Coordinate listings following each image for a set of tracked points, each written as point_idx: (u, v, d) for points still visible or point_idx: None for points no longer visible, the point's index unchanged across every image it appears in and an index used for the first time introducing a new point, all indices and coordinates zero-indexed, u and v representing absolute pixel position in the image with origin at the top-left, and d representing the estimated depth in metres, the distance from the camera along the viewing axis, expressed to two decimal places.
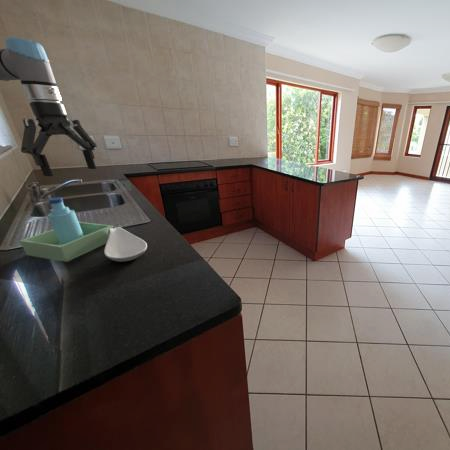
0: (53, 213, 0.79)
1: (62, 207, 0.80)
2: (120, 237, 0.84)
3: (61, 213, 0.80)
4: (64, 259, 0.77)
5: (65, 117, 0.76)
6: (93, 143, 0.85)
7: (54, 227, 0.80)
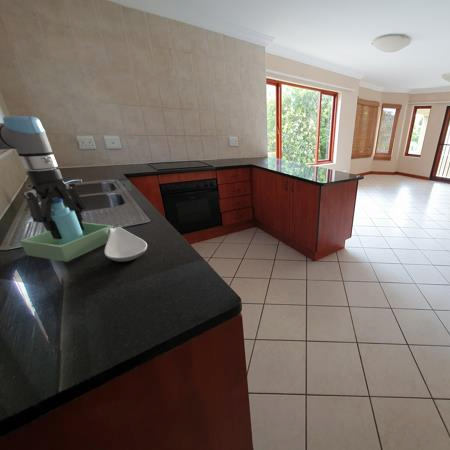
0: (53, 213, 0.79)
1: (62, 207, 0.80)
2: (120, 237, 0.84)
3: (61, 213, 0.80)
4: (64, 259, 0.77)
5: (61, 180, 0.80)
6: (82, 205, 0.87)
7: None
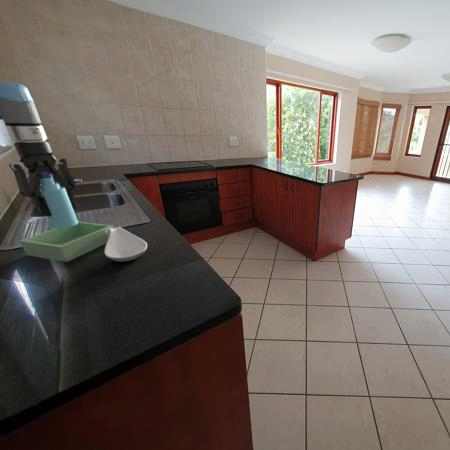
0: (42, 188, 0.76)
1: (52, 183, 0.77)
2: (120, 237, 0.84)
3: (51, 189, 0.77)
4: (64, 259, 0.77)
5: (51, 154, 0.76)
6: (73, 182, 0.83)
7: None
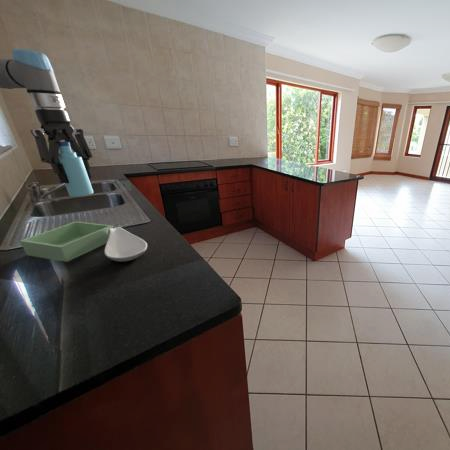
0: (61, 156, 0.79)
1: (69, 151, 0.80)
2: (120, 237, 0.84)
3: (68, 156, 0.80)
4: (64, 259, 0.77)
5: (68, 123, 0.80)
6: (89, 153, 0.87)
7: None
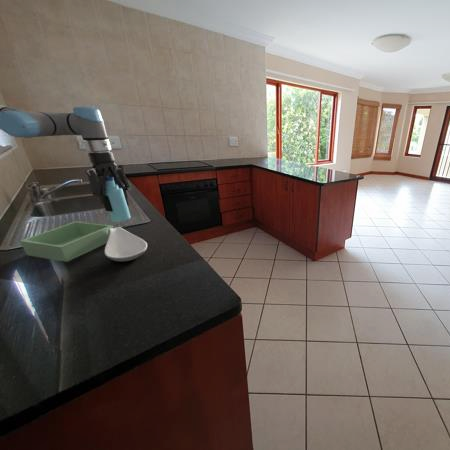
0: (107, 189, 0.94)
1: (113, 184, 0.96)
2: (120, 237, 0.84)
3: (113, 189, 0.95)
4: (64, 259, 0.77)
5: (112, 161, 0.95)
6: (127, 184, 1.02)
7: None
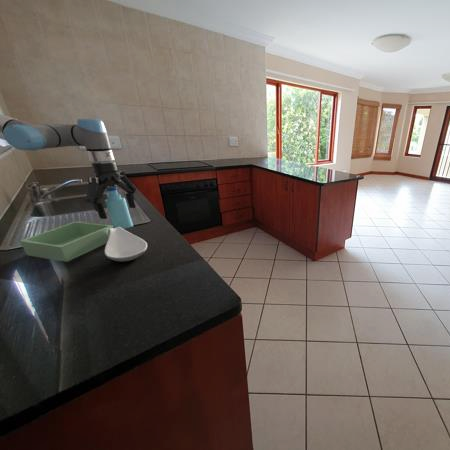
0: (110, 199, 0.96)
1: (116, 194, 0.97)
2: (120, 237, 0.84)
3: (116, 199, 0.97)
4: (64, 259, 0.77)
5: (115, 171, 0.97)
6: (134, 187, 1.05)
7: (110, 210, 0.97)
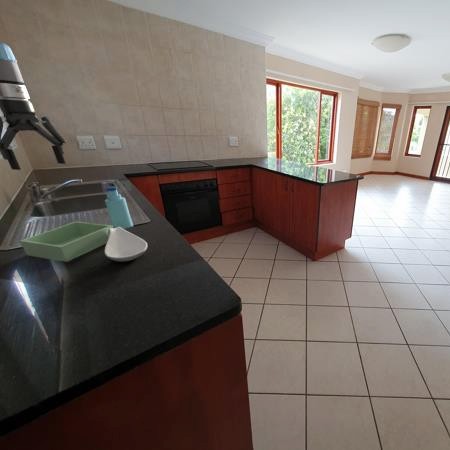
0: (110, 199, 0.96)
1: (116, 194, 0.97)
2: (120, 237, 0.84)
3: (116, 199, 0.97)
4: (64, 259, 0.77)
5: (33, 114, 0.81)
6: (62, 139, 0.89)
7: (110, 210, 0.97)
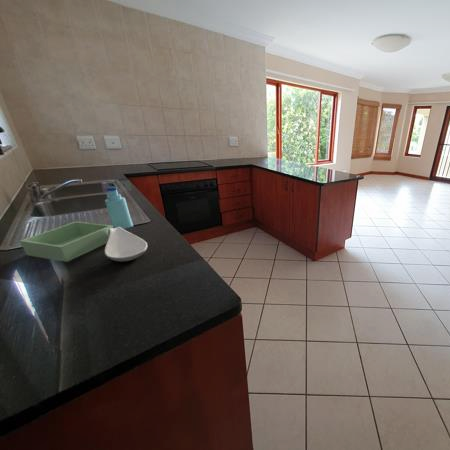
0: (110, 199, 0.96)
1: (116, 194, 0.97)
2: (120, 237, 0.84)
3: (116, 199, 0.97)
4: (64, 259, 0.77)
5: None
6: None
7: (110, 210, 0.97)
